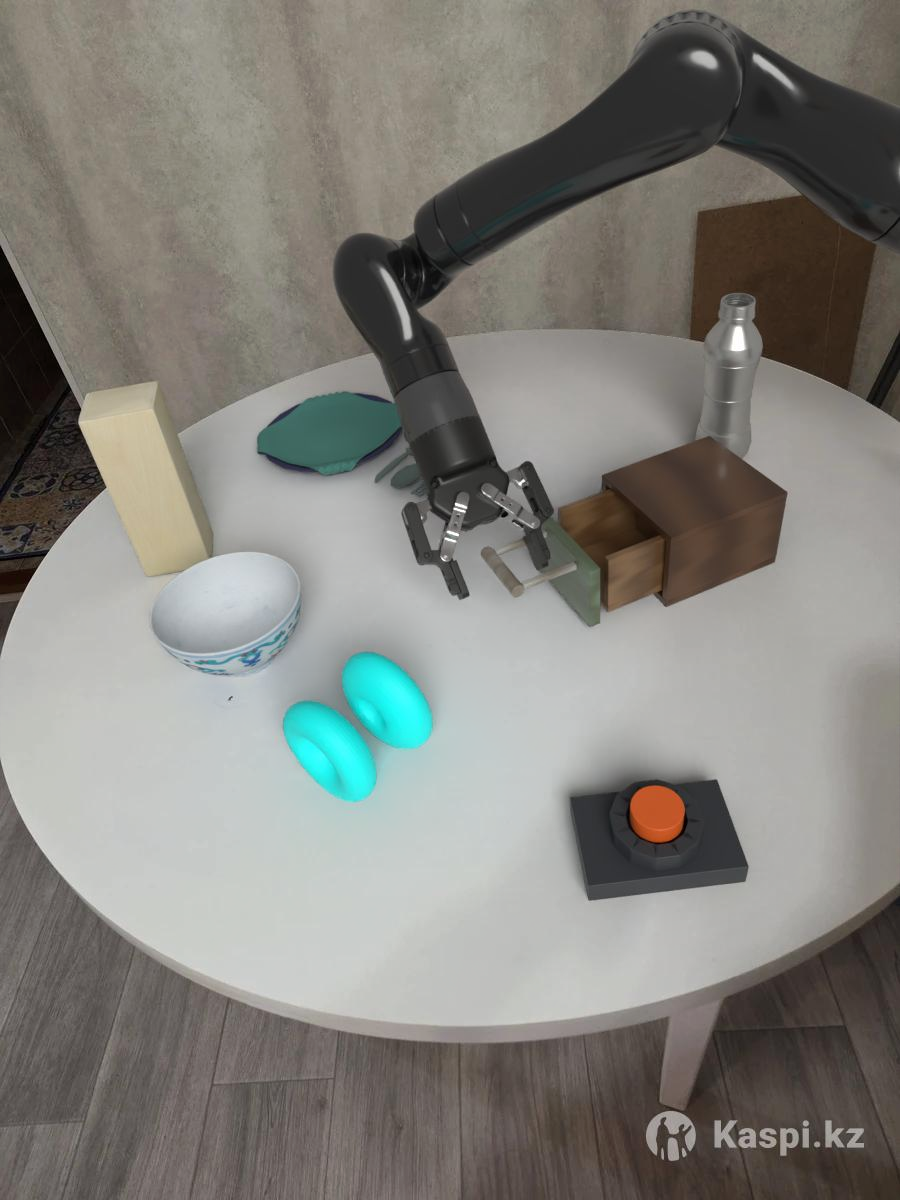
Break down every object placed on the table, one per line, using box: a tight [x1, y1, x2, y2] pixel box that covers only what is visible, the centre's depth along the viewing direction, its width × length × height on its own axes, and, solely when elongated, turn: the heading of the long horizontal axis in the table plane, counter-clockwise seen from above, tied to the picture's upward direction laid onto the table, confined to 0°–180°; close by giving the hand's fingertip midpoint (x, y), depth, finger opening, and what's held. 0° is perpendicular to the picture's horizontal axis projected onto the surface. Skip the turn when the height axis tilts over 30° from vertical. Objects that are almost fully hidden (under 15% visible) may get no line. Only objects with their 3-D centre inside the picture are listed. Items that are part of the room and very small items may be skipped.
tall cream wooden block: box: [77, 380, 214, 578], centre depth 98 cm, size 8×7×21 cm
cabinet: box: [601, 436, 789, 608], centre depth 91 cm, size 14×13×9 cm
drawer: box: [479, 489, 666, 628], centre depth 88 cm, size 20×11×7 cm, turn 114°
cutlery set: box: [256, 390, 427, 498], centre depth 117 cm, size 20×30×2 cm, turn 55°
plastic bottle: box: [694, 292, 764, 460], centre depth 100 cm, size 6×7×20 cm
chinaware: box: [148, 551, 302, 678], centre depth 88 cm, size 15×15×8 cm
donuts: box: [282, 651, 434, 803], centre depth 75 cm, size 10×10×10 cm
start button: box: [630, 785, 685, 843], centre depth 66 cm, size 4×4×2 cm
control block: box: [569, 778, 750, 902], centre depth 67 cm, size 12×8×4 cm, turn 94°
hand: (504, 583), depth 84 cm, fingers open, 8 cm apart
